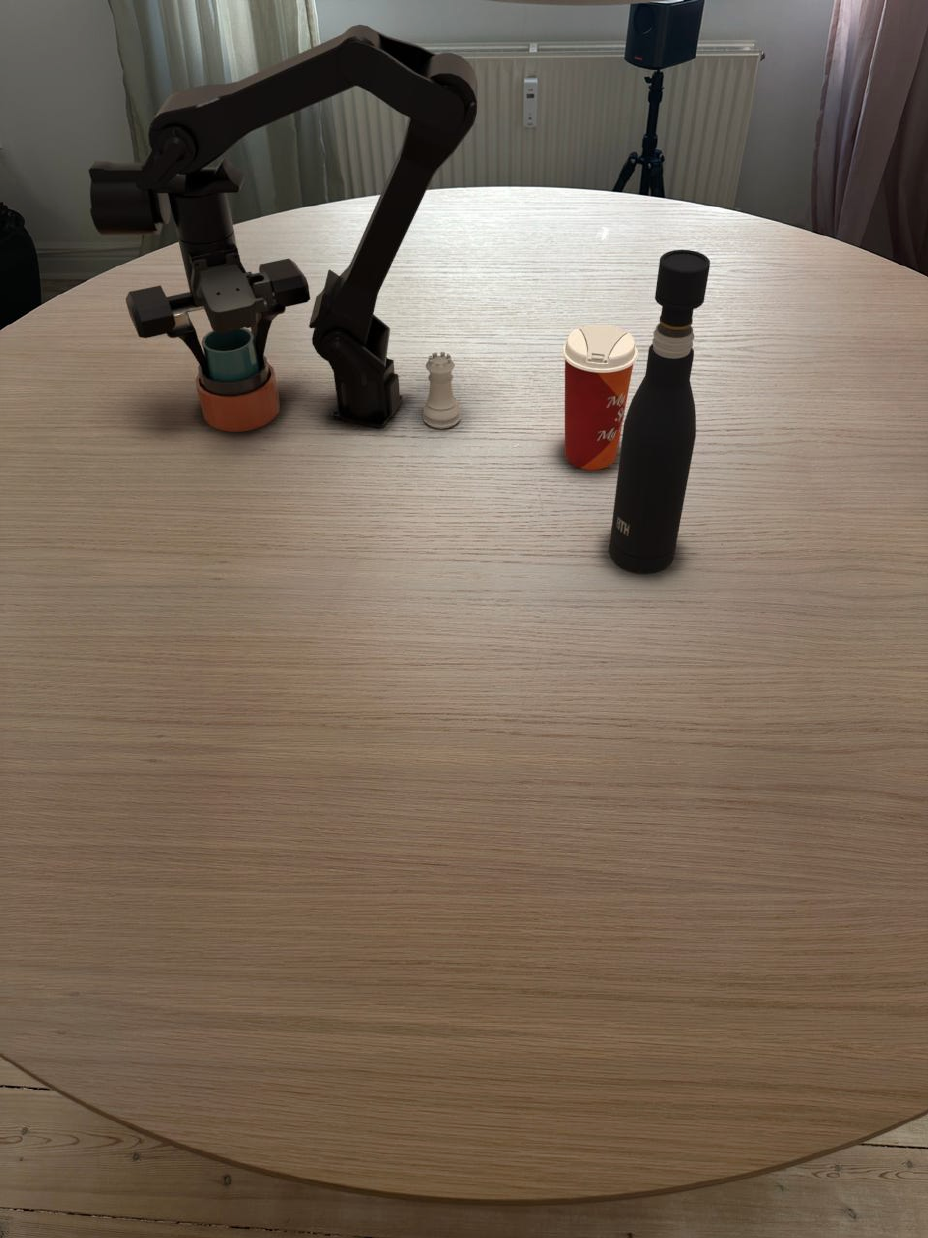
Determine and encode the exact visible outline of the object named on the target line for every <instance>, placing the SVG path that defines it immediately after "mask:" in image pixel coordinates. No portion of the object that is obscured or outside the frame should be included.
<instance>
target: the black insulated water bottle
mask: <svg viewBox="0 0 928 1238" xmlns="http://www.w3.org/2000/svg"><path fill="white" fill-rule="evenodd" d="M710 267H711V260H710V259H709V257H708V256H707V255H705V254H704V253H702V252H700V251H696V250H691V249H673V250H670V251H667V252H665V253H663V254H662V255H661V256H660V257H659V264H658V272H657V278H656V286H655V293H654V300H655V301H656V303H657V304H658V305H660V306H661V312H660V313H661V314H660V316H659V320H658V321H659V323H657V325H656V326H655V329H654V331H653V332H652V333H653V334H652V336H653V338H652V342H651V344H650V345H649V347H648V351H647V359H646V367H645V375H644V377H643V379H642V380H641V382H640V384H639V386H638V388H637V389H636V392H635V393H634V395H633V397H632V399H631V402H630V404H629V406H628V409H627V412H626V416H625V419H624V421H623V426H622V428H623V429H622V436H621V444H620V445H621V446H620V453H619V459H618V460H619V461H618V470H617V476H616V487H615V497H614V503H613V511H612V520H611V528H610V537H609V545H608V552H609V556H610V558H611V560H612V561H613V562H614V563H615V564H616V565H617V566H619V567H621V568H622V569H624V570H626V571H629V572H631V573H636V574H652V573H657V572H659V571H662V570H664V569H666V568H667V567H668V566H670V565H671V564H672V561H673V560H674V557H675V553H676V547H677V541H678V535H679V530H680V525H681V520H682V514H683V509H684V504H685V497H686V492H687V487H688V482H689V476H690V471H691V466H692V465H691V464H692V459H693V453H694V448H695V443H696V438H697V415H696V412H697V411H696V404H695V402H696V401H695V398H694V393H693V388H692V383H691V376H692V370H693V364H694V357H695V350H694V348H693V347H694V340H695V333H694V328H693V326H692V325H693V322H694V321H693V320H694V319H693V315H694V310H695V309H698V308H699V307H701V306H702V305H703V304H704V302H705V297H706V291H707V285H708V279H709V274H710V273H709V272H710Z"/></svg>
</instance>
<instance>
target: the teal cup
mask: <svg viewBox="0 0 928 1238" xmlns="http://www.w3.org/2000/svg"><path fill="white" fill-rule="evenodd" d="M201 347H202V350H203V353H204V355H205V358H206V361H207V363H208V368H209V373H210V374H209V378H210V379H211V380H215V381H220V382H234V381H240V380H244V379H247V378H250V377H252V376H254V375H255V374H257V373H258V372H259V371H260V367H259V361H258V356H257V350H256V345H255V339H254V336H253V333H252V332H251V330H250V329H249V328H245V327H244V328H240V329H235V330H231V331H229V332H228V333H224V334H219V333H216V332H214V331H213V330H211V331H208V332H207V333H206V334H205V335H204V336H203V337H202V340H201Z"/></svg>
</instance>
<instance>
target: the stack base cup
mask: <svg viewBox="0 0 928 1238" xmlns="http://www.w3.org/2000/svg"><path fill="white" fill-rule="evenodd" d="M267 363H268V369H269V375H270V380H269V381H268V382H267V383H266V384H265V385H264V386H263V387H261V388H260V389H258V390H256V391H254V392H251V393H248V394H245V395H239V396H218V395H214V394H211V393H209V392H207V391H205V390H204V389H203V388H202V384H201V380H200V375H199V372H198V373H197V375H196V377H195V385H196V391H197V395H198V399H199V403H200V407H201V412H202V416H203V418H204V421H205V422H206V423H207V424H208V425H209V426H211V427H212V428H214V429H217V430H220V431H224V432H229V433H230V432H233V433H235V432H236V433H238V432H248V431H252V430H256V429H259V428H261V427H264V426H265V425H268V424H269V423H271V421H273V420H274V419H275V418H276V417H277V416H278V414H279V412H280V408H281V402H280V397H279V390H278V384H277V379H276V374H275V369H274V368H273V366H272V365H271V363H269V362H268V361H267Z"/></svg>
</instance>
